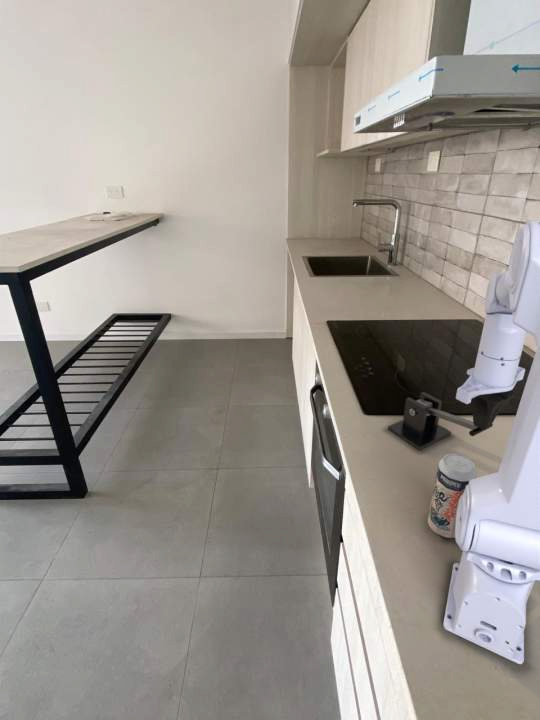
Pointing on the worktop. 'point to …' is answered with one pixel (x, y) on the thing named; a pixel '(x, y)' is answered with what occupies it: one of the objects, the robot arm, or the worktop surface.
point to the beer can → (449, 492)
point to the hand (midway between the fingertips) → (481, 426)
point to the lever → (451, 418)
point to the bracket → (420, 424)
